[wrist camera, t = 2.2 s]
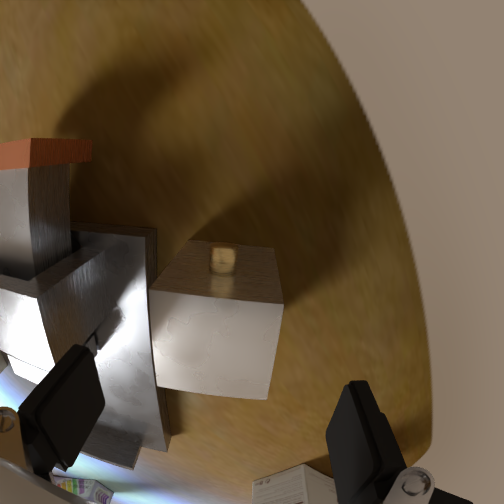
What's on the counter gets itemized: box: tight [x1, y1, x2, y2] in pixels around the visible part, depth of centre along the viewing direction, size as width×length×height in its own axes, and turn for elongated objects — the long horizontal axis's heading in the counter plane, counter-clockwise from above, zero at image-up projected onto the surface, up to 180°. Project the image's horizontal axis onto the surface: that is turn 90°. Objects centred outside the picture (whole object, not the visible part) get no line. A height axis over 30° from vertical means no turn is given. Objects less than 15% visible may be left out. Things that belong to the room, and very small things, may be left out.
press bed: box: [0, 221, 171, 470], centre depth 16 cm, size 20×13×8 cm, turn 174°
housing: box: [149, 240, 284, 400], centre depth 14 cm, size 6×5×7 cm
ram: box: [0, 138, 98, 384], centre depth 13 cm, size 14×6×5 cm, turn 174°
